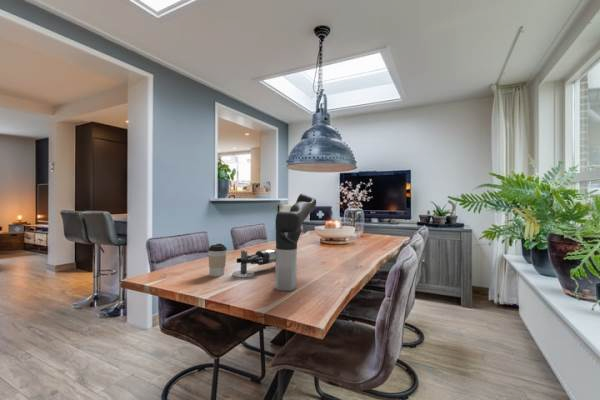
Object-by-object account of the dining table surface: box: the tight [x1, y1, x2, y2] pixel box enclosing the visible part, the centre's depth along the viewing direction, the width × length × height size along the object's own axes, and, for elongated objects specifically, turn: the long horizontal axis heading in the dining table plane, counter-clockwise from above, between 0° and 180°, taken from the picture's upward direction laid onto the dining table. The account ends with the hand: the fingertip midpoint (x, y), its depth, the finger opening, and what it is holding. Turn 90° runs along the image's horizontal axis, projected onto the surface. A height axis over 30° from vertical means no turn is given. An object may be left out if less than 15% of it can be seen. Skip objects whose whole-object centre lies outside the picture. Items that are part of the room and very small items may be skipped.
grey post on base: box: [231, 249, 255, 278], centre depth 146 cm, size 11×11×12 cm
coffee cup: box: [207, 243, 228, 278], centre depth 145 cm, size 9×9×15 cm
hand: (239, 261), depth 144 cm, fingers closed on grey post on base, 3 cm apart
